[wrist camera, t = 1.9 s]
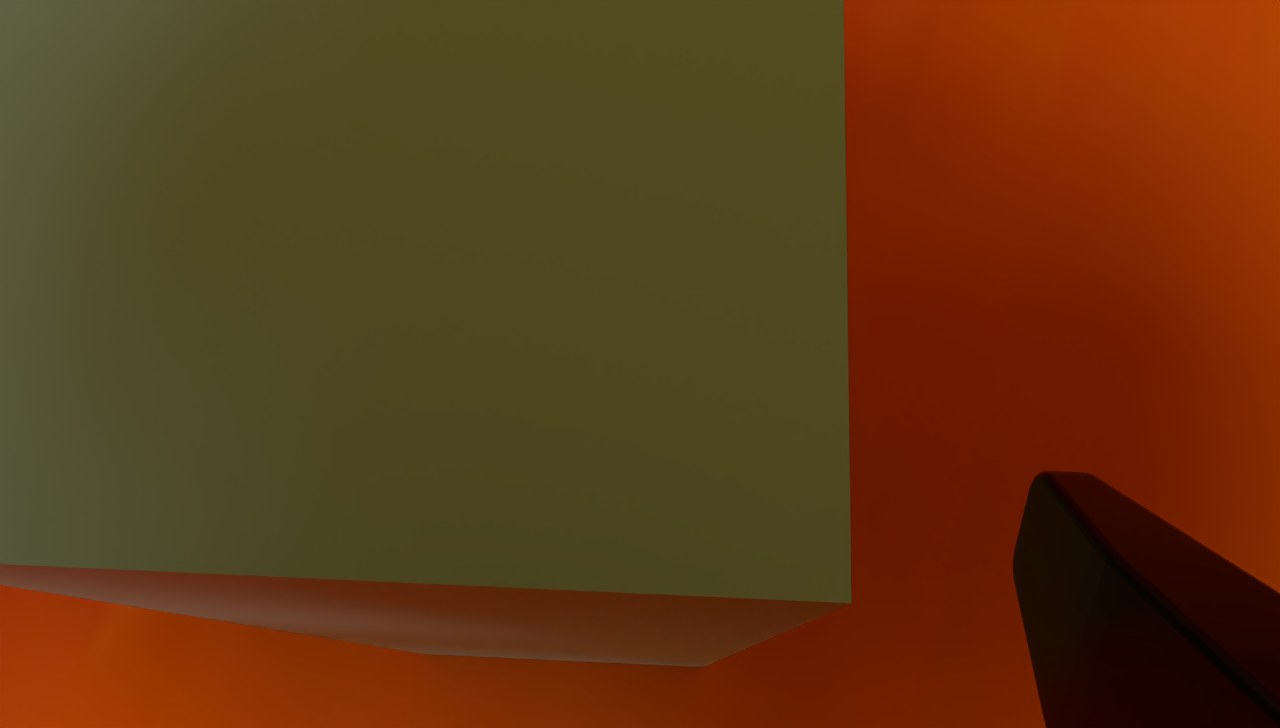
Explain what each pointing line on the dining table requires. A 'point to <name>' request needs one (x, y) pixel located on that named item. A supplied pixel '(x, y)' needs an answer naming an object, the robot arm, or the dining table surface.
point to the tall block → (430, 318)
